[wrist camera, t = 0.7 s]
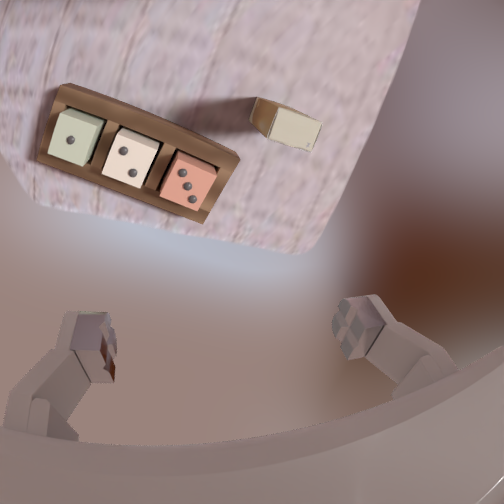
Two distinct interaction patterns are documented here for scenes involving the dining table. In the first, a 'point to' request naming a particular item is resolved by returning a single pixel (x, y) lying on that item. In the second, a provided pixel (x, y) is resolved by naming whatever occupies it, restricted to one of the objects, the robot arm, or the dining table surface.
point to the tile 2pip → (130, 157)
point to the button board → (147, 125)
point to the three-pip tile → (188, 180)
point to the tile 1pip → (76, 136)
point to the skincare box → (285, 124)
